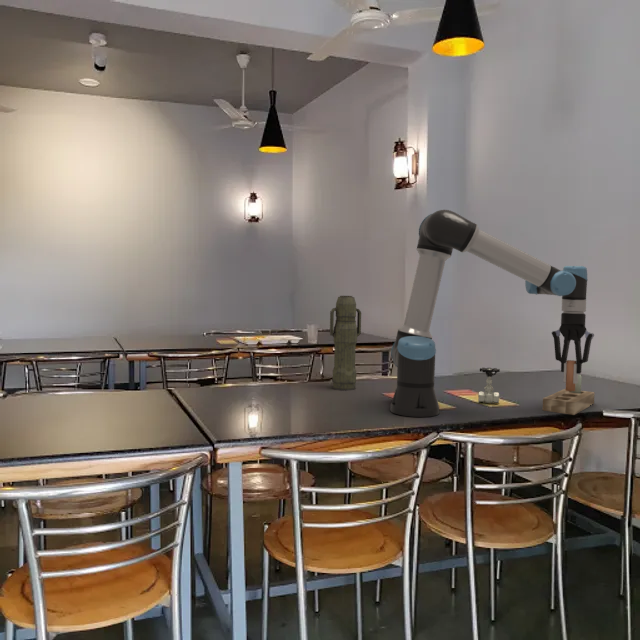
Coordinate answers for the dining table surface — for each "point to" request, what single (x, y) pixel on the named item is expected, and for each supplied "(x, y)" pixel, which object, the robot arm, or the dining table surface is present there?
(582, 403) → the beech block
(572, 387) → the terracotta peg
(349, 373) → the thermos
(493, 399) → the valve
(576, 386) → the sage peg
